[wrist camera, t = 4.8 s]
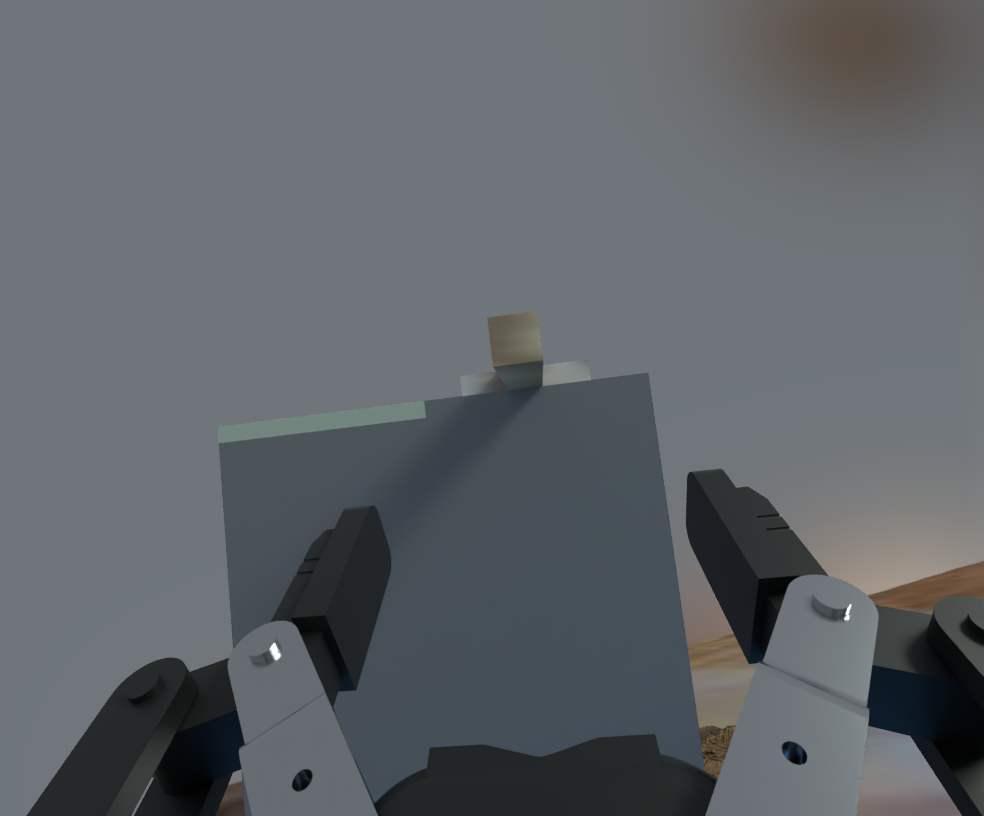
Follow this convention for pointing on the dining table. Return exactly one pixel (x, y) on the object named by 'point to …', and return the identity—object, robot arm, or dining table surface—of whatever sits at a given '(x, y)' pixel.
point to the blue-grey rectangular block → (481, 567)
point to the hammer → (520, 359)
